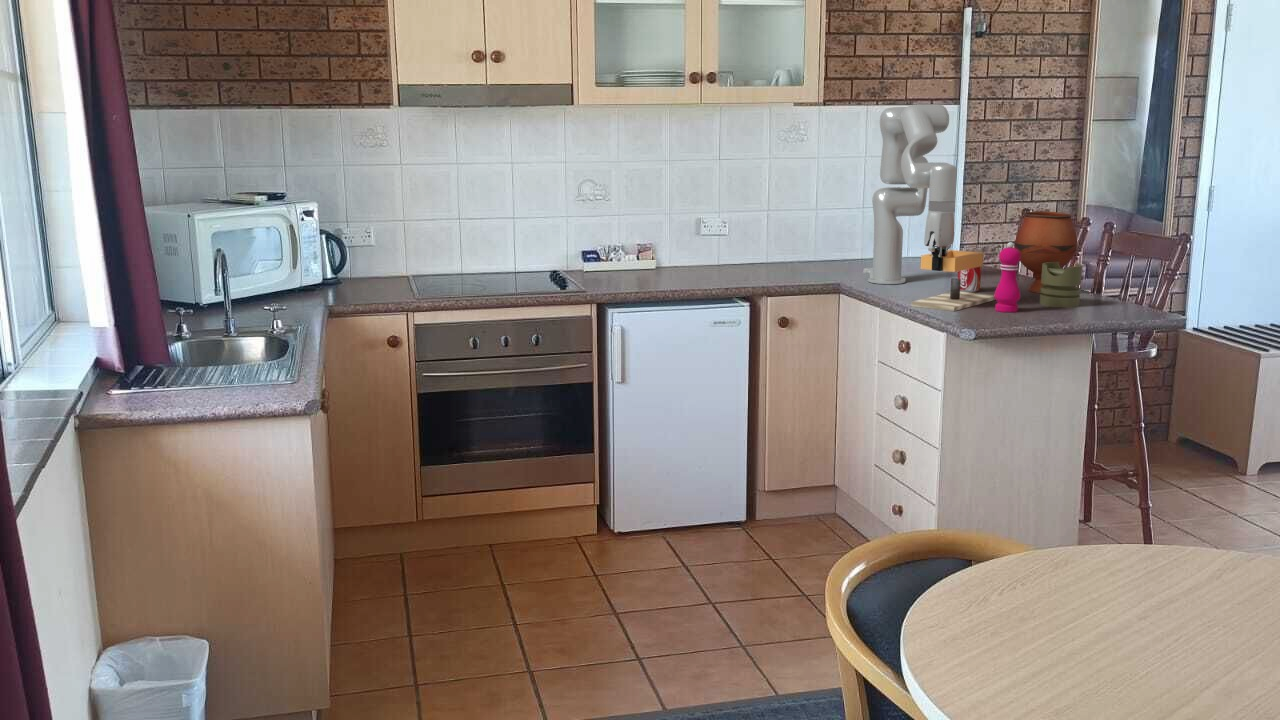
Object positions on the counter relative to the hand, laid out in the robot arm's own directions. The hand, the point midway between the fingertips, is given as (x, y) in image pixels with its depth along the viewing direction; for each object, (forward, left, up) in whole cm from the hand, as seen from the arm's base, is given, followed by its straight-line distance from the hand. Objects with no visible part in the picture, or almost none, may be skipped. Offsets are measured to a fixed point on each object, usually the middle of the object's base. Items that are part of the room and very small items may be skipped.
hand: (938, 269), depth 348 cm
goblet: (+11, +49, -11) cm, 52 cm away
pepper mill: (+18, +8, -11) cm, 23 cm away
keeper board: (0, +11, -11) cm, 16 cm away
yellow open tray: (0, +8, 0) cm, 8 cm away
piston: (+25, +29, -12) cm, 40 cm away
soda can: (-7, +34, -11) cm, 37 cm away
